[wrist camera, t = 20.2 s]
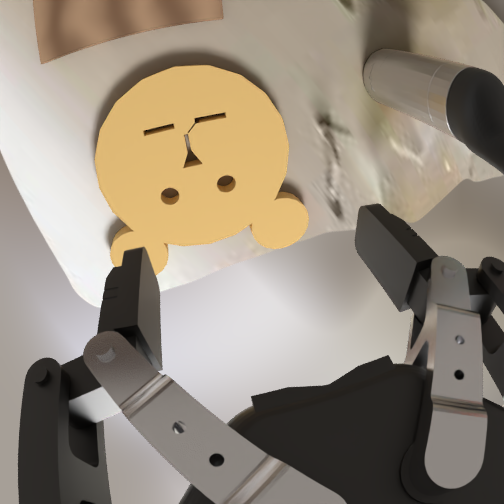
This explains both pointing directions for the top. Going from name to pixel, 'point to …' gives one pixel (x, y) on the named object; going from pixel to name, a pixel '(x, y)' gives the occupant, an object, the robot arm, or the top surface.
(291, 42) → the top surface
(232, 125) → the decorative plaque
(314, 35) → the top surface
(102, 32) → the board
